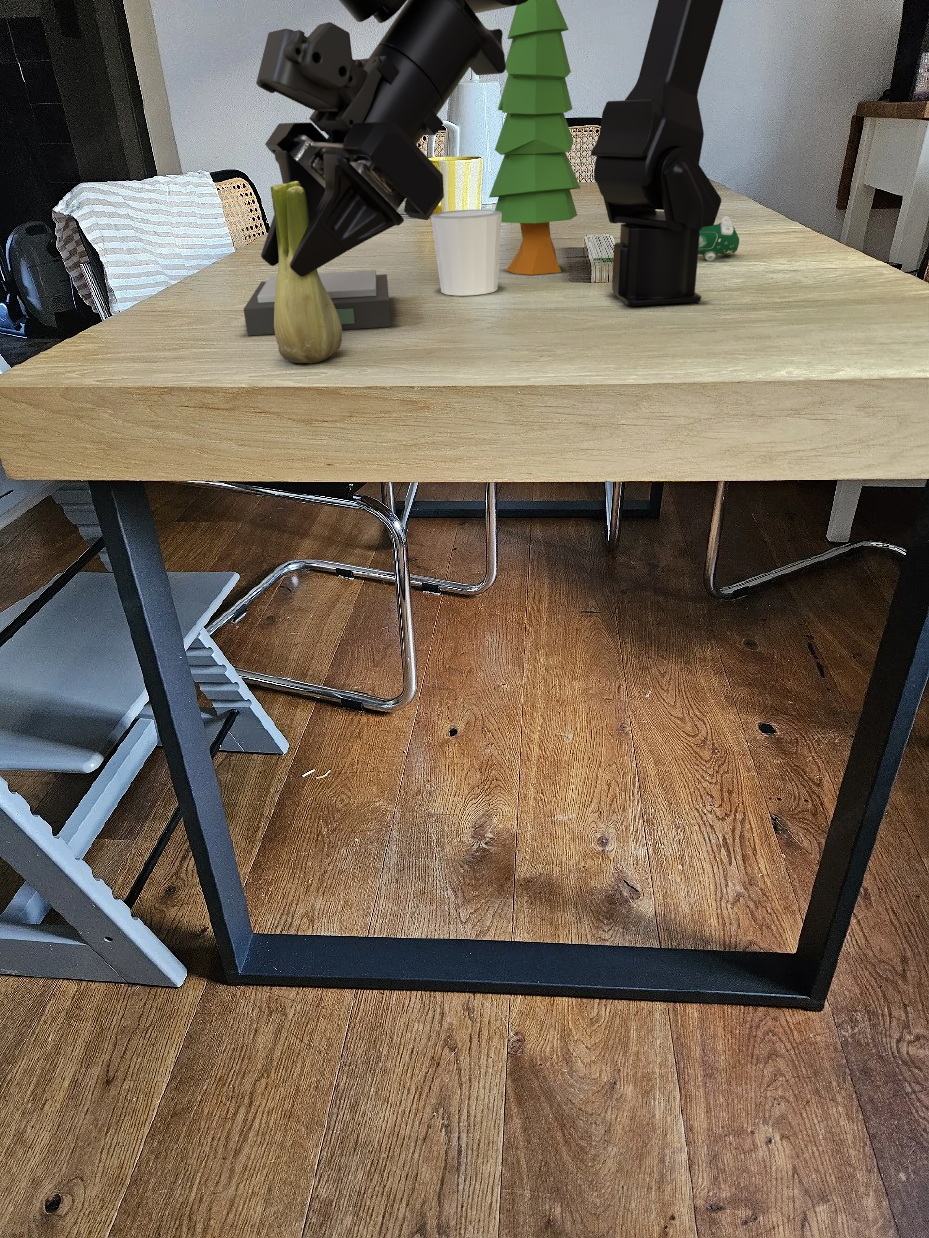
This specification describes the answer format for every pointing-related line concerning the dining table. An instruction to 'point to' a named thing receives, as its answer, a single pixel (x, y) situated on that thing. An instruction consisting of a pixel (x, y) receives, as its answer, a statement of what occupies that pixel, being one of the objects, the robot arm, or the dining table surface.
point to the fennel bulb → (300, 287)
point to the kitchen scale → (351, 293)
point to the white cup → (467, 250)
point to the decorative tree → (535, 135)
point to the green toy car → (718, 239)
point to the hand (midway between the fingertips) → (280, 266)
